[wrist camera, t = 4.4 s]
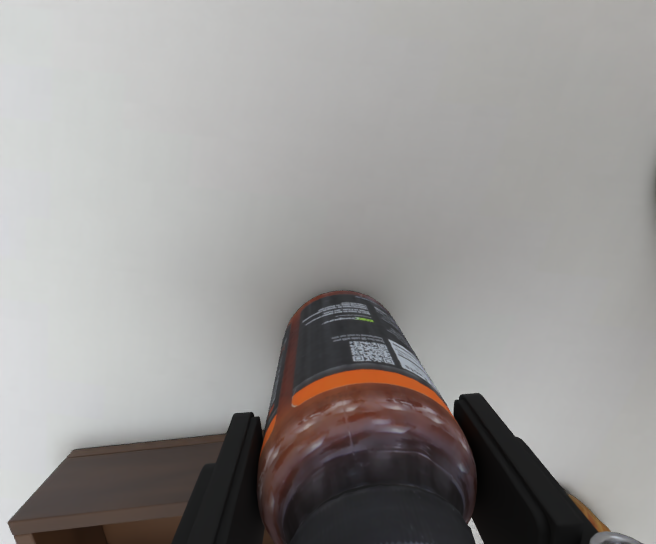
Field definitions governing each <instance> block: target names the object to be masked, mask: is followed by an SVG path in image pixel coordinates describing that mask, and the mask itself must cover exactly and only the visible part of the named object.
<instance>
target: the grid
mask: <svg viewBox="0 0 656 544" xmlns="http://www.w3.org/2000/svg"><path fill="white" fill-rule="evenodd" d="M262 435H264V430H262ZM225 436H226V434H221V435H212V436H202V437H193V438H183V439H173V440H164V441H154V442H145V443H135V444H126V445H116V446H106V447H97V448H87V449H78V450H73V451H72V452H71V453H70V454H69V455H68V456H67V458H66V459H65V460H64V461H63V462H62V463H61V464H60V465H59V466H58V467H57V468H56V469H55V471H54V472H53V473H52V474H51V475H50V476H49V477H48V478H47V479H46V480H45V482H44V483H43V484H42V485H41V486H40V487H39V488H38V489H37V490H36V491H35V493H34V494H33V495H32V496H31V497H30V498H29V499H28V500H27V501H26V502H25V504H24V505H23V506H22V507H21V508H20V509H19V510H18V511H17V512H16V513H15V515H14V516H13V517H12V518H11V519H10V520H9V521H8V525H9V528H10V530H11V532H12V535H14V539H15V541H16V543H17V544H171V543H172V540H173V538H174V535H175V533H176V530H177V528H178V526H179V523H180V521H181V518H182V516H183V513H184V511H185V508H186V506H187V503H188V501H189V499H190V496H191V494H192V491H193V489H194V486H195V484H196V481H197V479H198V476H199V474H200V472H201V470H202V468H203V466H204V465H205V464H209V463H216V461H217V458H218V455H219V453H220V450H221V447H222V444H223V442H224V439H225ZM263 544H275V543H274V541H273V540H272V539H271V537H270V535H269V534H268V532H267V530H266V529H265V530H264V537H263Z"/></svg>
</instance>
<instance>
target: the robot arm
mask: <svg viewBox="0 0 656 544" xmlns="http://www.w3.org/2000/svg"><path fill="white" fill-rule="evenodd" d="M454 418H455V420H456V421H457V423H458V424H459V426H460V428H461V429H462V431H463V433H464V435H465V437H466V439H467V441H468V444H469V446H470V448H471V450H472V453H473V457H474V461H475V464H476V472H477V494H476V502H475V507H474V510H473V513H472V516H471V517H472V519H473V521H474V523H475V525H476V527H477V530H478V532H479V534H480V536H481V538H482V540H483V542H484V544H643V543H641V542H639V541H637V540H635V539H633V538H631V537H629V536H626V535H623V534H620V533H617V532H608V531H604V532H598V531H597V529H596V528H595V527H594V526H593V525H592V523H591V522H590V521H589V520H588V519H587V517H586V516H585V515H584V514H583V512H582V511H581V510H580V509H579V508H578V506H577V505H576V504H575V503H574V502H573V500H572V499H571V498H570V497H569V495H568V494H567V493H566V492H565V491H564V489H563V488H562V487H561V486H560V485H559V483H558V482H557V481H556V480H555V478H554V477H553V476H552V475H551V474H550V472H549V471H548V470H547V469H546V468H545V466H544V465H543V464H542V463H541V461H540V460H539V459H538V458H537V457H536V455H535V454H534V453H533V452H532V451H531V449H530V448H529V447H528V446H527V445H526V443H525V442H524V441H523V440H522V439H520V438H518V437H515V436H514V435H513V433H512V432H511V431H510V430H509V428H508V427H507V426H506V425H505V423H504V422H503V421H502V420H501V418H500V417H499V416H498V415H497V414H496V412H495V411H494V410H493V409H492V407H491V406H490V405H489V404H488V402H487V401H486V400H485V399H484V397H483V396H482V395H481V394H479V393H474V394H462V395H460V397H459V400H455V402H454ZM262 444H263V435H262V428H261V421H260V417H259V416H258V417H254V414H253V412H246V413H235V414H234V415H233V417H232V420H231V422H230V425H229V428H228V431H227V433H226V436H225V439H224V442H223V444H222V447H221V450H220V453H219V455H218V458H217V461H216V463H209V464H205V465H204V466H203V468H202V470H201V472H200V474H199V476H198V479H197V481H196V484H195V486H194V489H193V491H192V494H191V496H190V499H189V501H188V503H187V506H186V508H185V511H184V513H183V516H182V518H181V521H180V523H179V526H178V528H177V530H176V533H175V535H174V538H173V540H172V543H171V544H263V537H264V530H265V526H264V524H263V522H262V519H261V516H260V512H259V508H258V500H257V493H256V490H257V472H258V463H259V457H260V452H261V448H262Z"/></svg>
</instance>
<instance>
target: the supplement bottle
mask: <svg viewBox="0 0 656 544" xmlns="http://www.w3.org/2000/svg"><path fill="white" fill-rule="evenodd" d="M256 493H257V500H258V508H259V512H260V516H261V519H262V522H263V524H264V526H265V529H266V530H267V532H268V534H269V535H270V537H271V539H272V540H273V541H274V543H275V544H475V540H474V537H473V534H472V530H471V528H470V527H469V526H468V525H467V524H468V522H469V521H470V519H471V516H472V513H473V510H474V507H475V502H476V494H477V472H476V464H475V461H474V457H473V453H472V450H471V448H470V446H469V444H468V441H467V439H466V437H465V435H464V433H463V431H462V429H461V428H460V426H459V424H458V423H457V421H456V420H455V418H454V417H453V415H452V414H451V412H450V410H449V408H448V406H447V404H446V403H445V401H444V400H443V398H442V397H441V395H440V393H439V392H438V390H437V388H436V387H435V385H434V384H433V382H432V380H431V379H430V377H429V376H428V374H427V372H426V371H425V369H424V367H423V366H422V364H421V362H420V361H419V359H418V358H417V356H416V354H415V353H414V351H413V350H412V348H411V346H410V345H409V343H408V341H407V340H406V338H405V336H404V335H403V333H402V332H401V330H400V328H399V326H398V325H397V324H396V322H395V320H394V319H393V318H392V316H391V315H390V313H389V312H388V311H387V310H386V309H385V308H384V307H383V306H382V305H381V304H380V303H379V302H377V301H376V300H374V299H373V298H371V297H370V296H367V295H364V294H361V293H357V292H353V291H343V290H342V291H332V292H328V293H324V294H321V295H319V296H316V297H314V298H312V299H311V300H309V301H308V302H306V303H305V304H304V305H303V306H302V307H301V308H299V309H298V311H297V312H296V313H295V314H294V316H293V317H292V318H291V320H290V322H289V324H288V326H287V329H286V331H285V335H284V338H283V342H282V347H281V353H280V357H279V363H278V367H277V372H276V377H275V382H274V387H273V392H272V397H271V402H270V407H269V412H268V416H267V420H266V426H265V430H264V435H263V444H262V448H261V452H260V457H259V463H258V472H257V490H256Z"/></svg>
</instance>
